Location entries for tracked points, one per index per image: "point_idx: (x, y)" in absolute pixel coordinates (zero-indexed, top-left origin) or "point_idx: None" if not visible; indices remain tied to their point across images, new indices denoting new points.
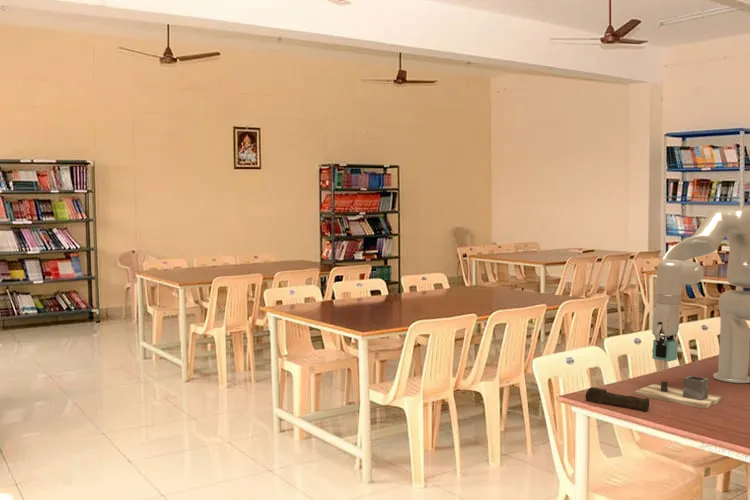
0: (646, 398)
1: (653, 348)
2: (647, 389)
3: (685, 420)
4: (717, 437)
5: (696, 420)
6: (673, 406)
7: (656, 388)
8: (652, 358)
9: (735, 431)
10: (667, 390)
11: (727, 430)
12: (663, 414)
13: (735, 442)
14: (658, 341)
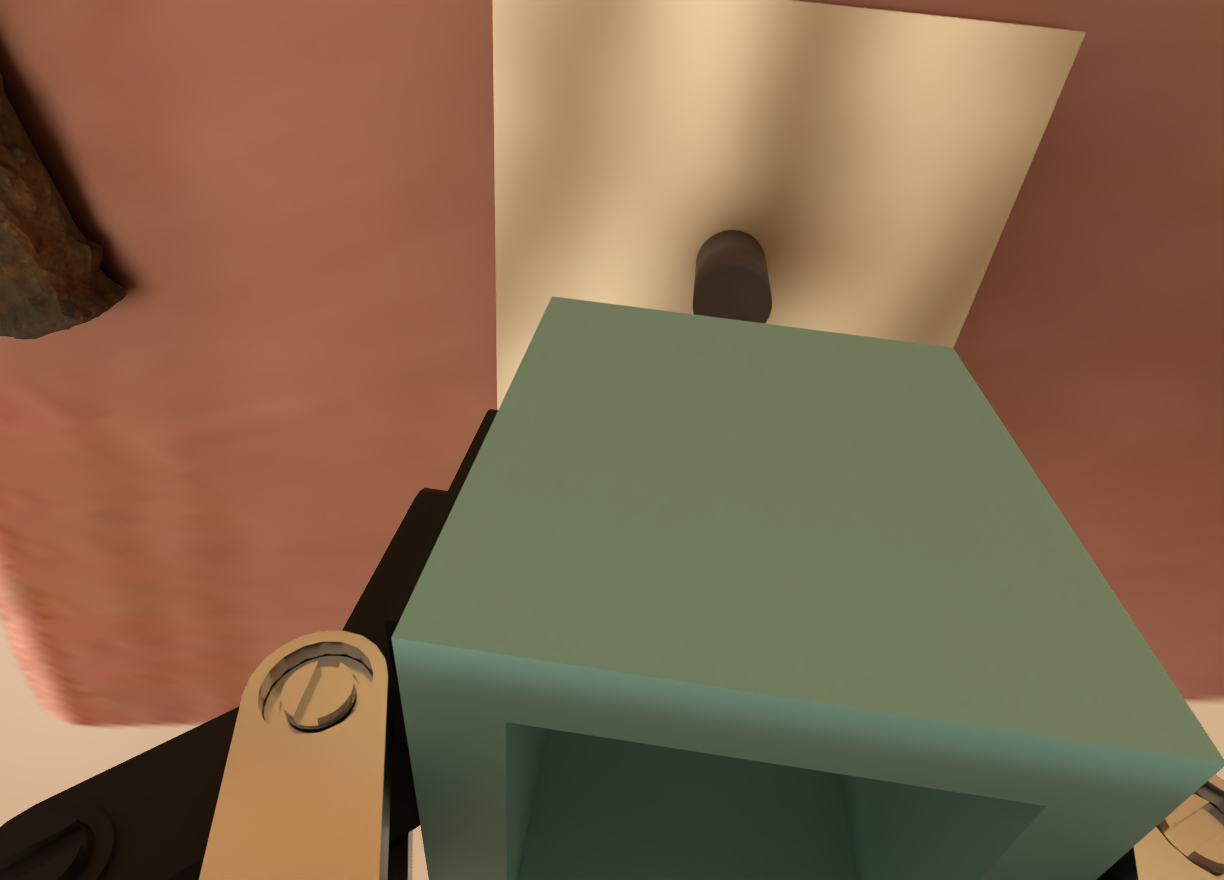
0: (8, 324)
1: (495, 437)
2: (683, 80)
3: (160, 529)
4: (69, 661)
5: (221, 570)
6: (395, 412)
7: (812, 155)
8: (554, 299)
9: (229, 703)
10: (785, 285)
11: (209, 681)
12: (138, 407)
13: (87, 708)
14: (162, 807)
